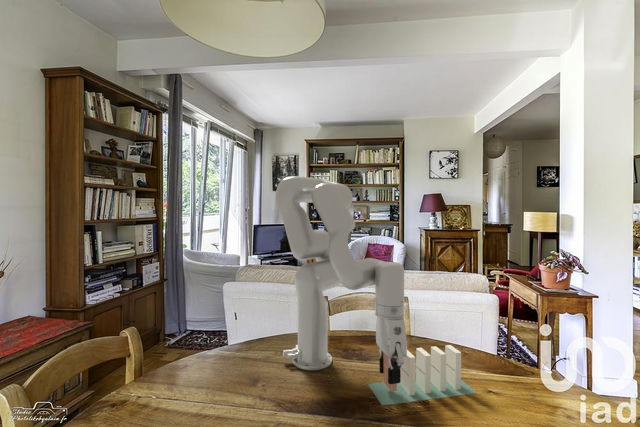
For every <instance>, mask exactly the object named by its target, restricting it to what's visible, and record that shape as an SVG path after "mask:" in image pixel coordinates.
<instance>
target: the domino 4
mask: <svg viewBox="0 0 640 427" xmlns="http://www.w3.org/2000/svg"><path fill="white" fill-rule="evenodd" d="M444 347H445V348H444V353H446V382H447V383H449V384H450V385H451V386H452V387H453V388H454V389H455V390H457V389H461V380H462V352H461V351H459V350H458V349H457V348H455V347H454V346H453V345H451V344H446V345H445V346H444Z"/></svg>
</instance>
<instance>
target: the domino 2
mask: <svg viewBox="0 0 640 427" xmlns="http://www.w3.org/2000/svg"><path fill="white" fill-rule="evenodd" d="M415 378H416V384H417V385H418V386H419V388H420V389H421V390H422V391H423V392H424V393H425V394H426V393H431V353H429V352H427V350H425V349H424V348H423V347H416V348H415Z"/></svg>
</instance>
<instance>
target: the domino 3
mask: <svg viewBox="0 0 640 427" xmlns="http://www.w3.org/2000/svg"><path fill="white" fill-rule="evenodd" d="M430 355H431V383H432V384H433V385H434V386H435V387H436V388H437V389H438V390H439V391H440V392H441V391H446V353H445V351H443V350H442V349H440V348H439V347H437V346H436V345H435V346H430Z"/></svg>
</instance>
